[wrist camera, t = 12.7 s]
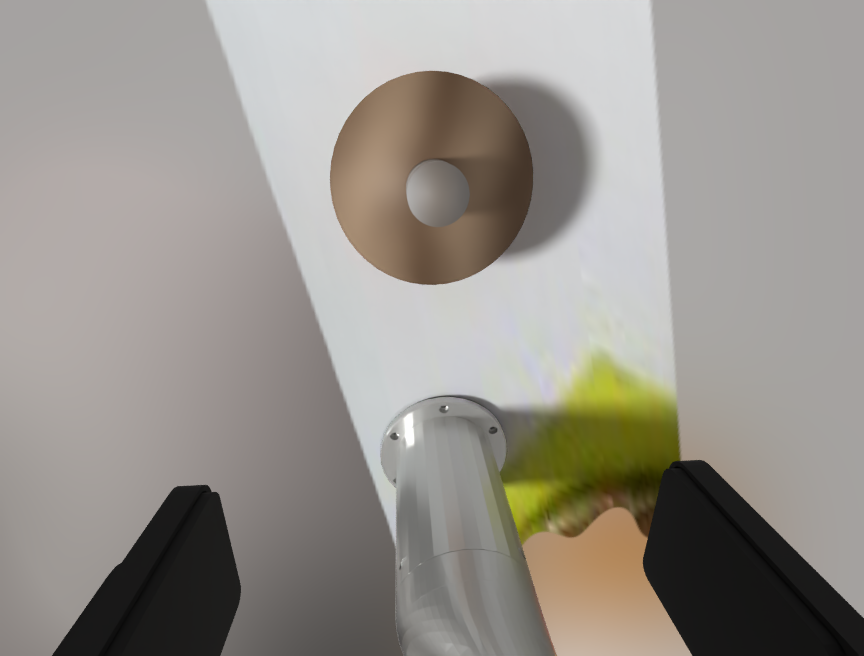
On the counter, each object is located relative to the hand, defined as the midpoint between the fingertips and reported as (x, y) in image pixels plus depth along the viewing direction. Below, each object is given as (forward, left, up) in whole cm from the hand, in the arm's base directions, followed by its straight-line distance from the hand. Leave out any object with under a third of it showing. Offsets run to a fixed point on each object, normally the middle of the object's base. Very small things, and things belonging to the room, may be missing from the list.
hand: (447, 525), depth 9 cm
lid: (+5, -1, -23) cm, 24 cm away
